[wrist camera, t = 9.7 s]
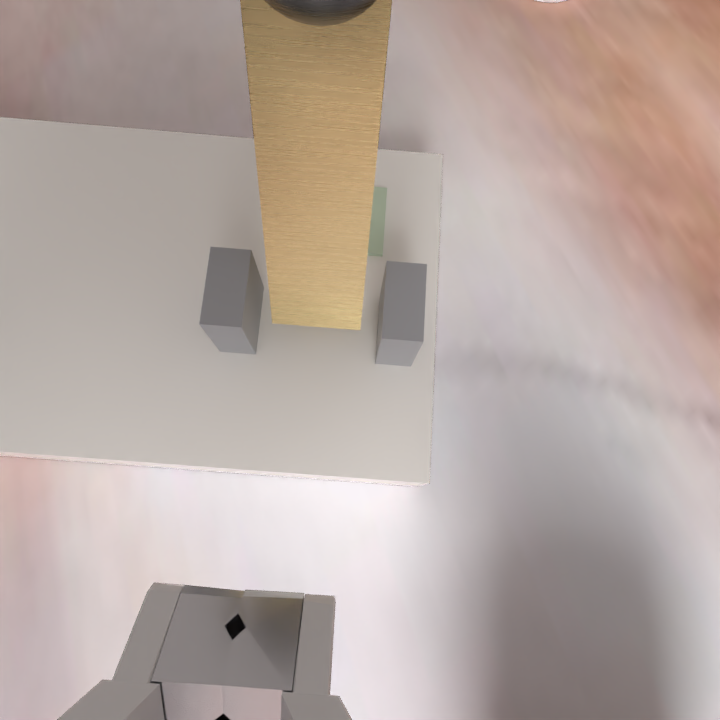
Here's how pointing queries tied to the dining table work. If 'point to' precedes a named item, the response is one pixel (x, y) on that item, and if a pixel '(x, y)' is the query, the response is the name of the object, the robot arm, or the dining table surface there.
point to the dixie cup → (551, 0)
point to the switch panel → (202, 313)
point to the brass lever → (316, 148)
